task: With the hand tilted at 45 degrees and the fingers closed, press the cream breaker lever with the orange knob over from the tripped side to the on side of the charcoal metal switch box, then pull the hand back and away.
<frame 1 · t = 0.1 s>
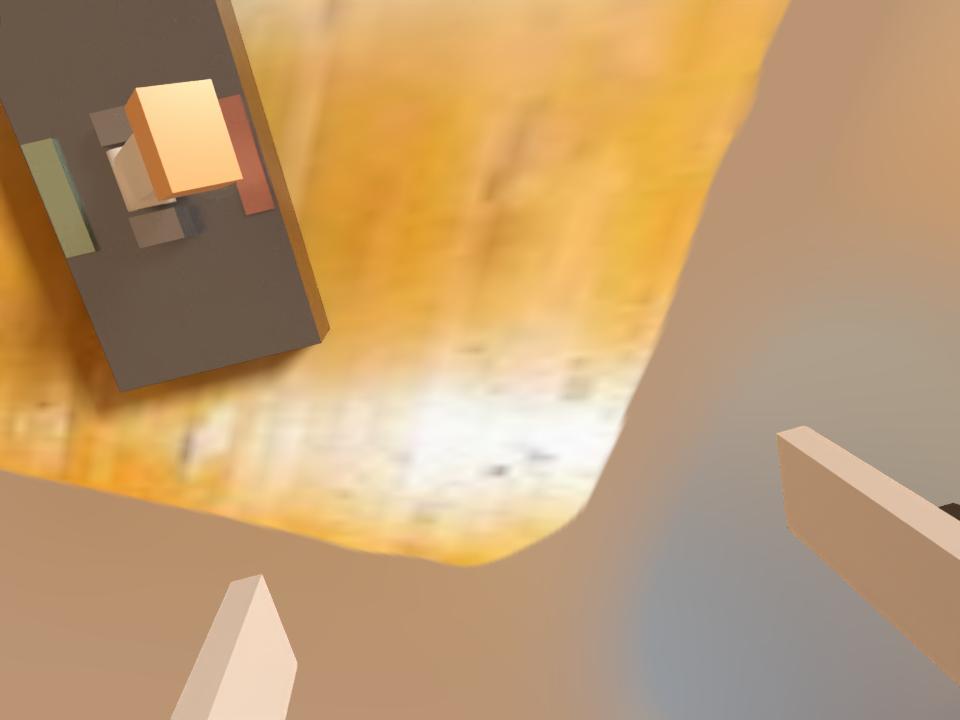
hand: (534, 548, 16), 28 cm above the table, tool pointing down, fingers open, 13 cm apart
breaker lever: (160, 162, 29), point 10 cm above the table, hinge at -30.0°
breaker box: (179, 178, 39), on the table
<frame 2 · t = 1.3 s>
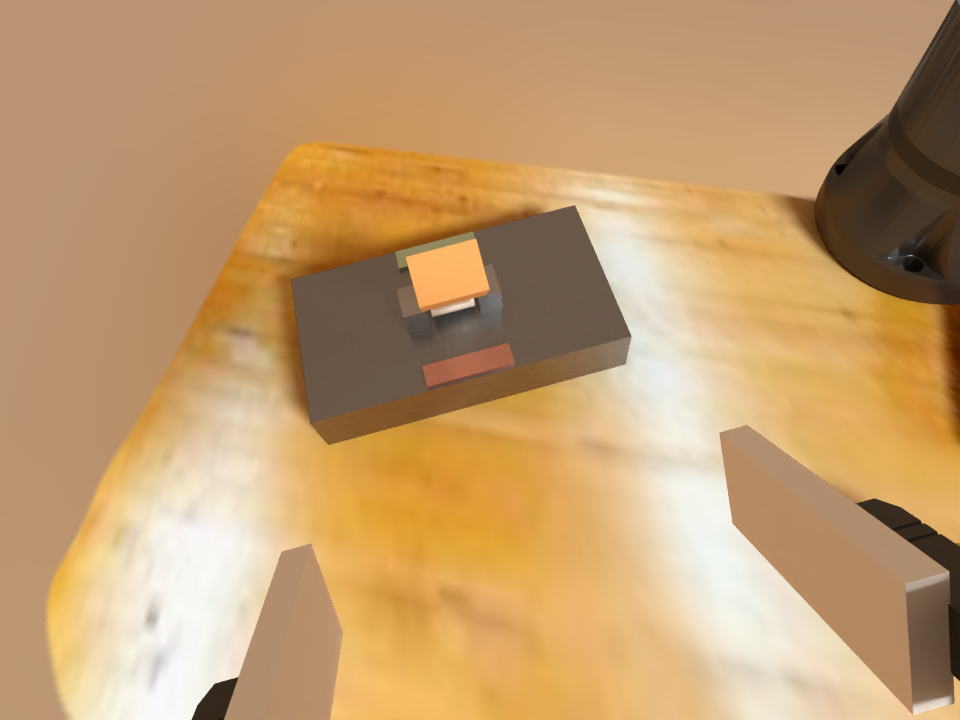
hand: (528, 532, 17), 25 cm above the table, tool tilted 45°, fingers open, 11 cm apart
breaker lever: (448, 286, 39), point 10 cm above the table, hinge at -30.0°
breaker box: (459, 334, 49), on the table
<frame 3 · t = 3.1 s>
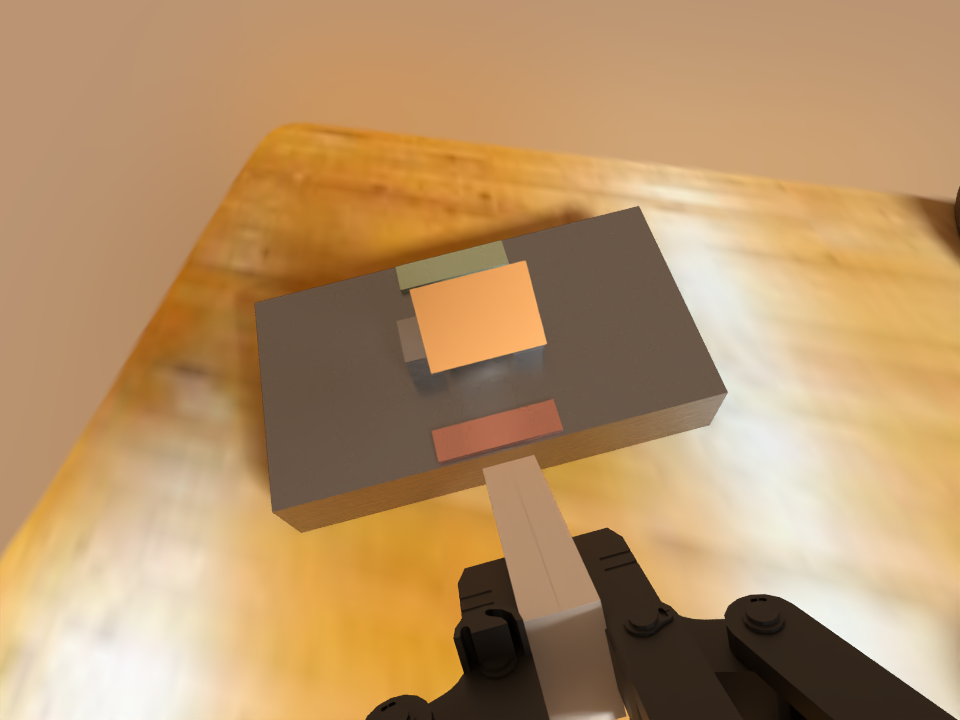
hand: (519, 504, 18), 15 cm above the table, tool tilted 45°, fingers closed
breaker lever: (472, 325, 26), point 10 cm above the table, hinge at -30.0°
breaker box: (480, 379, 37), on the table
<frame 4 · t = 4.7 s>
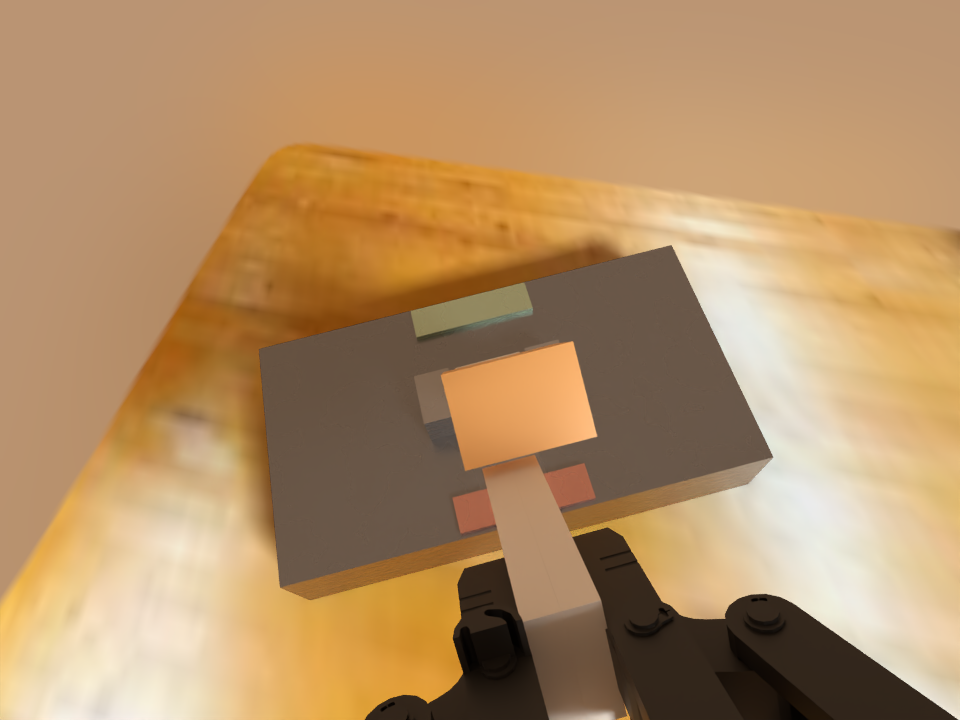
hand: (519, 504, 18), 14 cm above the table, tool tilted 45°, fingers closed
breaker lever: (501, 392, 24), point 10 cm above the table, hinge at -28.5°, touching gripper
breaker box: (500, 429, 34), on the table
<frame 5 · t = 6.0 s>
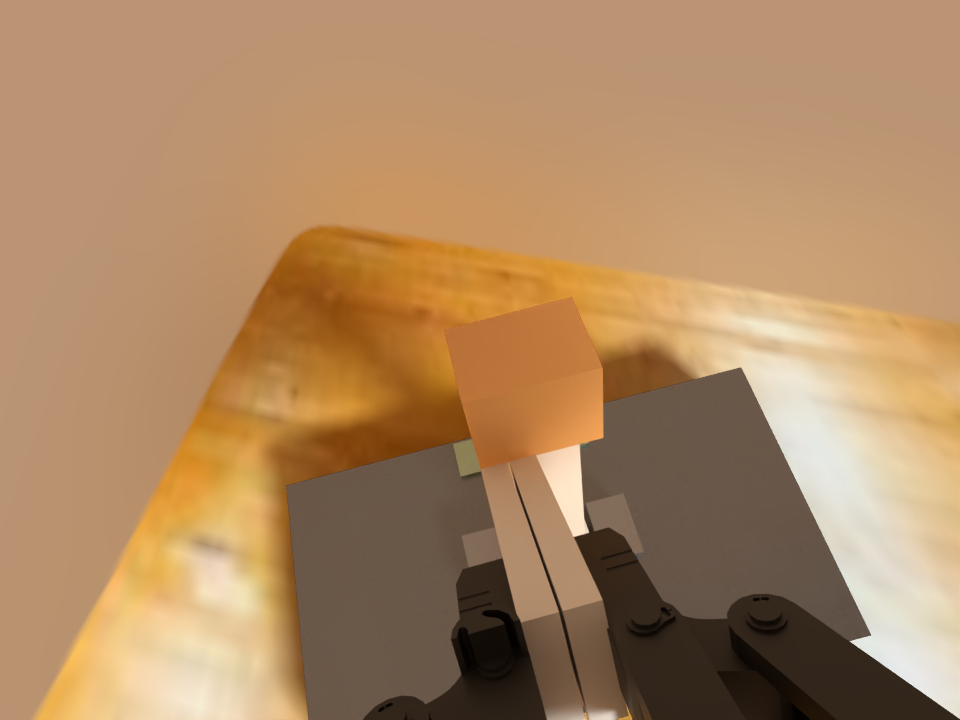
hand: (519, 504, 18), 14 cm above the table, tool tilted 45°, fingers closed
breaker lever: (540, 477, 22), point 11 cm above the table, hinge at 12.6°, touching gripper
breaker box: (551, 569, 31), on the table
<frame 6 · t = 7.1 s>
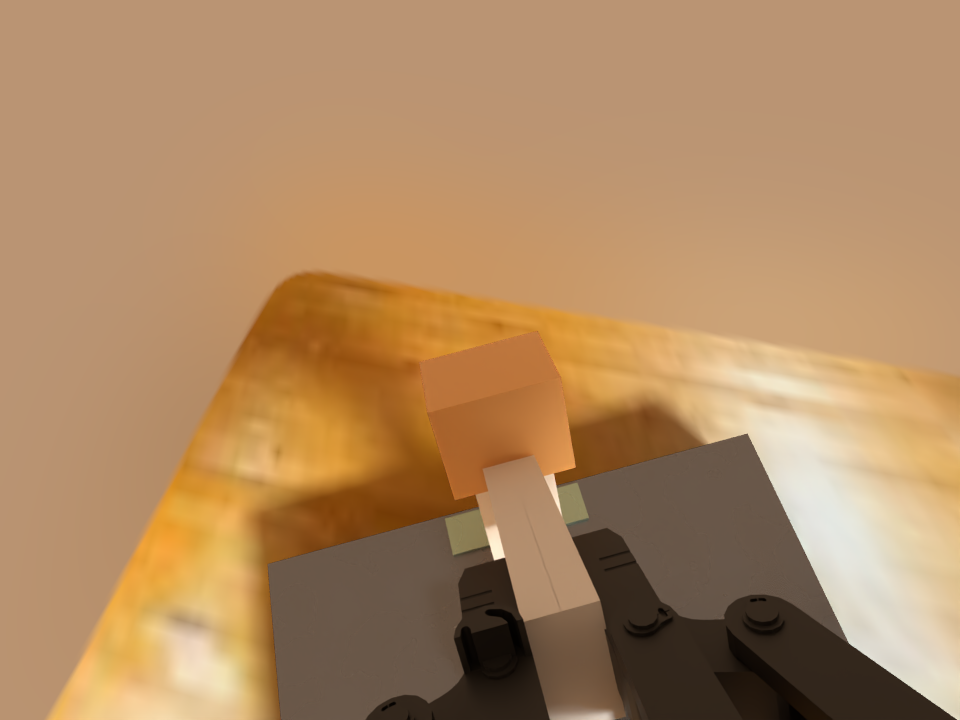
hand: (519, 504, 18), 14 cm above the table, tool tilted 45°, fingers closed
breaker lever: (525, 536, 22), point 10 cm above the table, hinge at 29.7°, touching gripper
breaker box: (549, 648, 29), on the table
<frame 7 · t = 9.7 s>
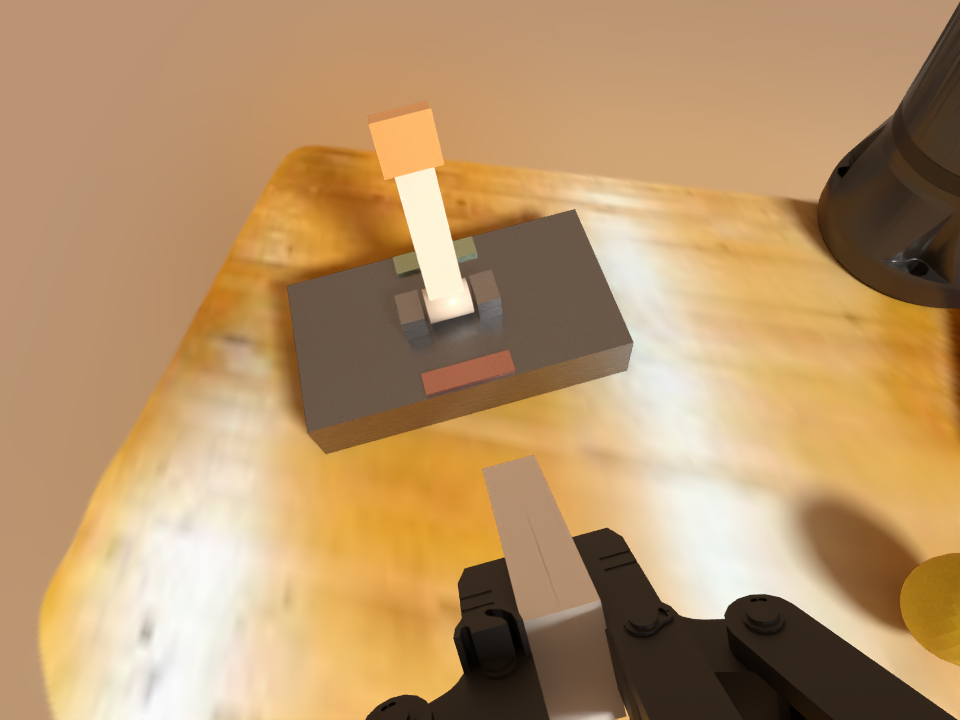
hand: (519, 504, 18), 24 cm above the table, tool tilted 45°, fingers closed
breaker lever: (427, 223, 41), point 10 cm above the table, hinge at 29.9°
lemon: (926, 619, 37), on the table
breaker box: (457, 341, 49), on the table
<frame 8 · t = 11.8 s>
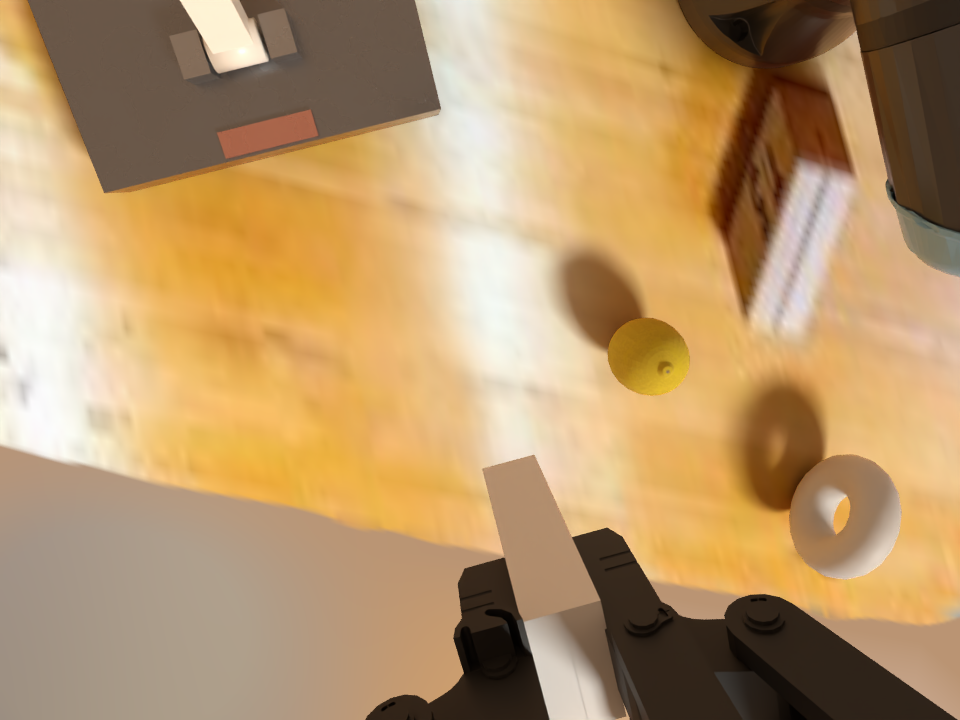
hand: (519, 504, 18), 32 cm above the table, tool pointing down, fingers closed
donut: (803, 486, 57), on the table
lemon: (629, 342, 52), on the table
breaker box: (257, 61, 44), on the table
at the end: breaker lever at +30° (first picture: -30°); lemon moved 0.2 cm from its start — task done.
